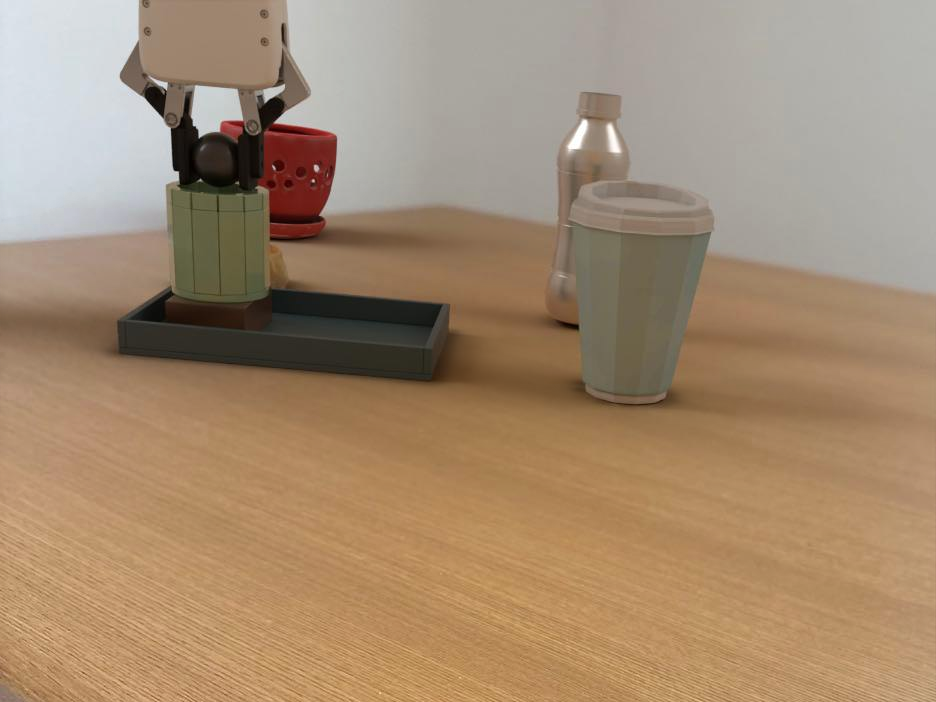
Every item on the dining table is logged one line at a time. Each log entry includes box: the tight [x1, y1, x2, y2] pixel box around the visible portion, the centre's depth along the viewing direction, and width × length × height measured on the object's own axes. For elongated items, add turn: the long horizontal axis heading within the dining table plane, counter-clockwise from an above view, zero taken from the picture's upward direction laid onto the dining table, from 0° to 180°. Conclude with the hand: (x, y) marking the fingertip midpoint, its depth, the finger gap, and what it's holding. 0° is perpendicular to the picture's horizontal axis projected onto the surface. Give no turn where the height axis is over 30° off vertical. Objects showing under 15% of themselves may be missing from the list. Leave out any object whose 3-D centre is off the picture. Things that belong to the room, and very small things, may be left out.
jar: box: [165, 179, 271, 303], centre depth 88 cm, size 7×7×8 cm
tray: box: [116, 284, 451, 382], centre depth 90 cm, size 23×15×2 cm, turn 89°
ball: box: [191, 131, 239, 188], centre depth 85 cm, size 4×4×4 cm
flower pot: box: [219, 119, 338, 240], centre depth 131 cm, size 13×13×12 cm
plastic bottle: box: [544, 91, 631, 327], centre depth 101 cm, size 6×7×20 cm
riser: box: [165, 284, 272, 331], centre depth 90 cm, size 6×9×3 cm, turn 179°
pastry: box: [270, 244, 289, 289], centre depth 106 cm, size 9×7×4 cm
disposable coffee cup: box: [568, 180, 716, 405], centre depth 83 cm, size 11×11×15 cm
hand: (219, 183), depth 86 cm, fingers closed on ball, 3 cm apart
